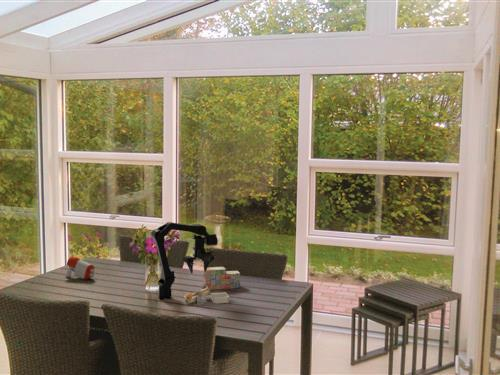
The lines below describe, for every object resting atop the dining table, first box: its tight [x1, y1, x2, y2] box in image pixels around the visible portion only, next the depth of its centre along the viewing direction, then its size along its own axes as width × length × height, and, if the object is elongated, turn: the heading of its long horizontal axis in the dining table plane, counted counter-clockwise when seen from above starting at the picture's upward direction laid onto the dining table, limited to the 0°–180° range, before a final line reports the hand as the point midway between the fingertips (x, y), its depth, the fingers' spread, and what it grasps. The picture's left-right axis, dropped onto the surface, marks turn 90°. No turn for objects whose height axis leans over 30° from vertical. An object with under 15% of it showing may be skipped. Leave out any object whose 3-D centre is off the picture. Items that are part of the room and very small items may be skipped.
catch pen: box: [210, 291, 230, 305], centre depth 290 cm, size 9×9×3 cm
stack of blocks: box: [203, 266, 241, 291], centre depth 315 cm, size 21×6×12 cm, turn 105°
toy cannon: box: [65, 256, 96, 281], centre depth 327 cm, size 6×20×14 cm, turn 69°
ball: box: [185, 292, 193, 299], centre depth 285 cm, size 4×4×4 cm
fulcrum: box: [193, 291, 205, 306], centre depth 287 cm, size 5×9×4 cm, turn 16°
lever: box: [183, 285, 212, 305], centre depth 290 cm, size 14×14×3 cm
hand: (198, 272), depth 301 cm, fingers open, 9 cm apart
